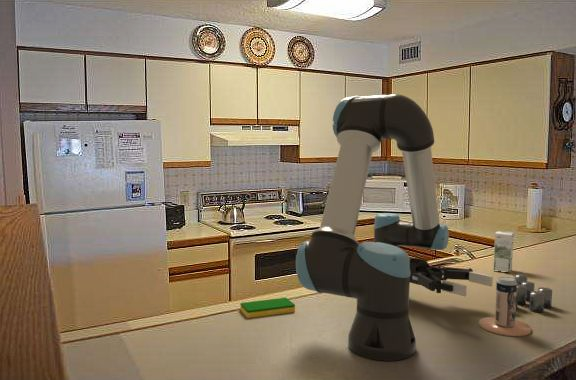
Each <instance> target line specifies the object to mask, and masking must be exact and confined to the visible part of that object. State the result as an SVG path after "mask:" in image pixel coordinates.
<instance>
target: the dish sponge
mask: <svg viewBox="0 0 576 380" xmlns="http://www.w3.org/2000/svg"><path fill="white" fill-rule="evenodd" d="M239 309H240V311H241V313H243V315H245V317H246V318H248V319H250V318H258V317H267V316H273V315H280V314H289V313H295V312H296V304H295V303H294V302H292V300H290V299H289V298H287V297H279V298H271V299H263V300H256V301H255V300H253V301H246V302H240V308H239Z"/></svg>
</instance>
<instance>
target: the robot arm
mask: <svg viewBox="0 0 576 380" xmlns="http://www.w3.org/2000/svg"><path fill="white" fill-rule="evenodd" d="M332 122H333V123H332V130H333V134H334V136H335V137H336V141H337V143H338V144H339V146H340V147H339V151H338V154H337V158H336V162H335V167H334V170H333V175H332V178H331V182H330V185H329V186H330V187H329V190H328V194H327V198H326V203H325V206H324V210H323V214H322V217H321V218H322V219H321V222H320V227H319V228H317V229H315V230H313V231H312V232H311V237H310V239H309V240H306V241H303V242H302V243H301V244H300V245H299V246H298V248H297V251H296V255H295V272H296V276H297V278H298V279H297V280H298V281H299V283H300V285H301V286H302V288H304V289H306V290H309V291H313V292H317V293H319V294H322V293H323V294H329V295H330V294H331V295H333V296H341V297H345V298H352V299H356V311H355V312H356V313H355V315H354V319H353V321H352V324H351V327H350V329H349V333H348V339H347V340H348V342H347V345H348V348H349V349H350V350H351V352H353V353H354V352H355V354H356V353H357V355H358V354H359V355H358V356H360V355H361V357H363V358H366V357H367V358H366V359H371V360H376V361H385V362H387V361H388V362H390V361H392V362H393V361H402V360H405V359H408V358H411V357H412V356H413V355H414V354H416V347H417V346H416V344H417V341H416V337H415V333H414V330H413V326H412V324H411V319H410V315H409V312H410V310H409V308H410V307H409V306H410V285H411V284H413V285H417V286H421V287H424V288H425V289H427V290H428V291H430V292H431V291H432V292H435V293H436V294H441V293H442V292H446V293H449V294H454V295H457V296H462V297H467V288H468V286H467V285H465V284H461V283H458V282H455V281H454V282H453V281H449V280H458V281H459V280H460V281H461V280H462V281H468V282H470V283H473V284H477V285H481V286H482V285H483V286H487V287H493V282H494V281H493V280H494V276H493V275H487V274H483V273H479V272H475V271H474V270H473V268H471V267H470V268H461V267H460V268H459V267H452V266H451V267H449V266H444V265H437V266H430V264H429V262H428V261H427V260H426V259H423V258H418V257H413V256H410V255H409V254H408V253H407V252H406V251H405V250H404V249H403V248H401V247H407V248H417V249H424V250H430V251H444V250H445V249H447V246H448V244H449V237H450V233H449V232H450V230H449V228H448V225H447V224H443V223H440V217H439V209H438V199H437V188H436V181H435V174H434V173H435V172H434V163H433V155H432V146H434V144H435V135H434V134H435V133H434V129H433V126H432V123H431V121H430V119H429V118H428V116H427V114H426V112H425V111H424V110H423V109H422V107H421V106H420V105H419V104H418V103H417V102H416V101H414V99H412V98H410V97H408V96H405V95H402V94H397V93H395V94H394V93H393V94H381V95H378V94H377V95H368V96H367V95H365V96H362V95H354V96H348V97H345V98H343V99H341V100H340V101H339V102H338V103H337V105H336V107H335V109H334V111H333V116H332ZM382 140H394V141H395V142H396V146H397V149H398V150H399V151H400V152H401V153H402V160H403V166H404V175H405V181H406V187H407V188H406V189H407V195H408V201H409V208H410V213H411V214H410V216H411V221H403V220H400V216H399V214H397V213H391V212H383V213H377V214H376V215H375V217H374V226H373V229H374V231H373V241H363V242H360V243H359V241H358V240H357V239H356V237H355V233H356V228H357V224H358V219H359V216H360V210H361V207H362V201H363V198H364V193H365V188H366V183H367V178H368V174H369V170H370V167H371V162H372V156H373V153H375V152H377V151H378V150H379V149H380V147H381V143H382ZM410 283H411V284H410Z"/></svg>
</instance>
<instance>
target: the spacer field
mask: <svg viewBox="0 0 576 380" xmlns="http://www.w3.org/2000/svg"><path fill="white" fill-rule="evenodd" d="M514 279H516V282H517V295H516V310H517V309H518V306H525V305H527V304H526V303H527V302H529V309H528V310H529V311H530V312H533V313H541V314H543V313H544V311H545V310H544V309H551V308H552V302H553V288H552V289H551V288H549V287H538V288H537V289H538V290H535V285H536V284H535V282H533V281H528V275H527V274H524V273H523V274H522V273H516V274H514Z"/></svg>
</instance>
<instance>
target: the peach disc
mask: <svg viewBox="0 0 576 380" xmlns="http://www.w3.org/2000/svg"><path fill="white" fill-rule="evenodd" d="M479 327H480V328H482V329H483V330H485V331H486V332H490V333H492V334H496V335H500V336H503V337H504V336H507V337H525V336H528V335H530V334H531V332H532V327H531V326H530V325H529V324H528V323H526V322H523V321H521V320H519V319H516V318H515V326H512V327H501V326H499V325H497V324H496V323H495V316H485V317H482V318H480V320H479Z"/></svg>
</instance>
